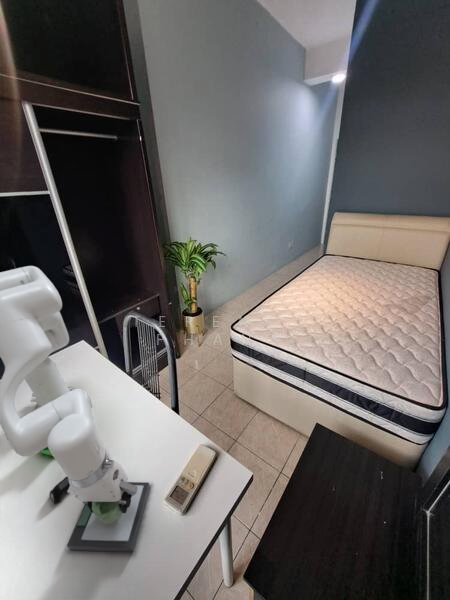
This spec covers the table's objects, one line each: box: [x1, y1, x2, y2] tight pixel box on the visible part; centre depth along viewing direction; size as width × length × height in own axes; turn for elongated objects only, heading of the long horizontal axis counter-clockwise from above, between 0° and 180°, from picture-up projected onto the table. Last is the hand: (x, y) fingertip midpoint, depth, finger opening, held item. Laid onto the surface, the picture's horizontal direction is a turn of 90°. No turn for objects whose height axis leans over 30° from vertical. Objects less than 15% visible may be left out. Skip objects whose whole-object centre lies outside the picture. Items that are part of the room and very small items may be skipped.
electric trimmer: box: [49, 476, 70, 504], centre depth 70 cm, size 4×16×3 cm, turn 142°
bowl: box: [92, 491, 123, 524], centre depth 59 cm, size 7×7×5 cm
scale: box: [66, 481, 151, 553], centre depth 62 cm, size 15×13×3 cm
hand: (111, 505), depth 60 cm, fingers closed on bowl, 6 cm apart
